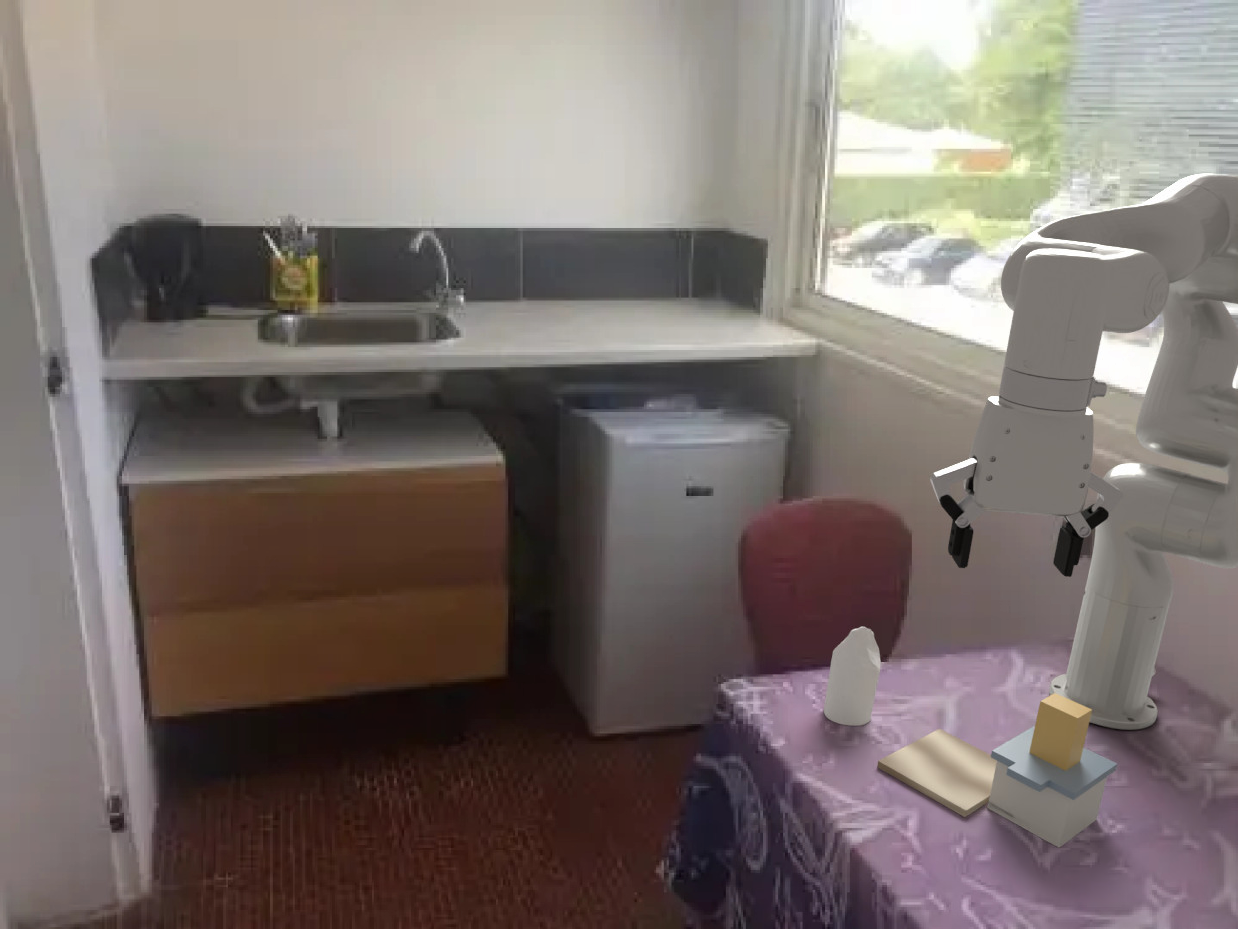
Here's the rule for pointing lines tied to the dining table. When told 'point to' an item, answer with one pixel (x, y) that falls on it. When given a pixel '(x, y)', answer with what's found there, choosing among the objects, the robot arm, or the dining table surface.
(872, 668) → the white faceted top cylinder
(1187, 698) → the dining table surface
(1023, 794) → the tub
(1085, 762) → the lid
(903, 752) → the board
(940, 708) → the dining table surface
